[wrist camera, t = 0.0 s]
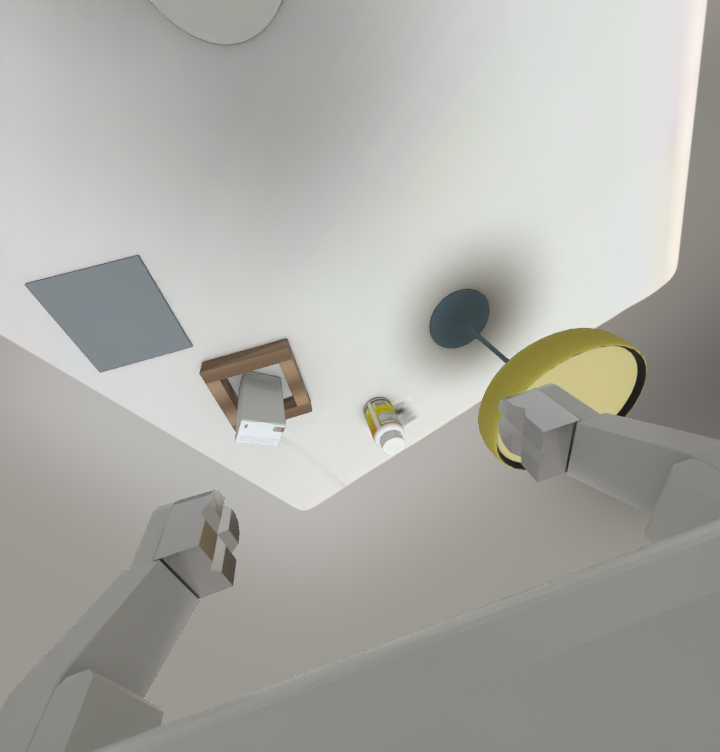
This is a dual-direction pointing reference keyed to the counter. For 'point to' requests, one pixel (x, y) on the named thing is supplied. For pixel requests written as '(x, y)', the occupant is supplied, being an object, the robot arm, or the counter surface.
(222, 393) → the walnut collar
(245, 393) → the skincare box
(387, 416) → the supplement bottle
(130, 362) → the slate mat
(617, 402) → the cocktail glass
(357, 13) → the counter surface
